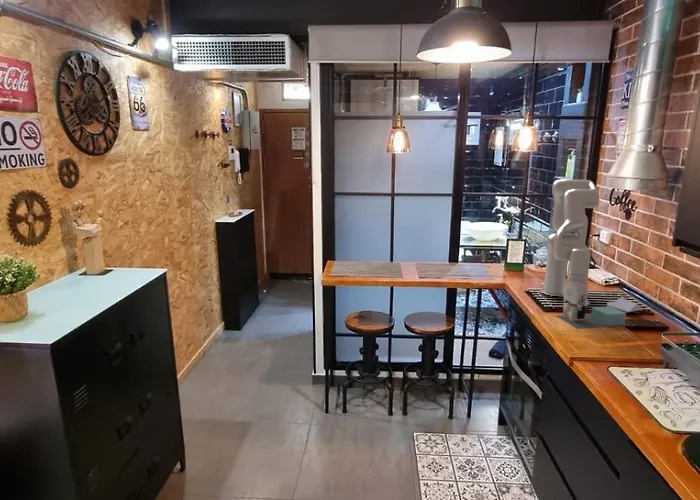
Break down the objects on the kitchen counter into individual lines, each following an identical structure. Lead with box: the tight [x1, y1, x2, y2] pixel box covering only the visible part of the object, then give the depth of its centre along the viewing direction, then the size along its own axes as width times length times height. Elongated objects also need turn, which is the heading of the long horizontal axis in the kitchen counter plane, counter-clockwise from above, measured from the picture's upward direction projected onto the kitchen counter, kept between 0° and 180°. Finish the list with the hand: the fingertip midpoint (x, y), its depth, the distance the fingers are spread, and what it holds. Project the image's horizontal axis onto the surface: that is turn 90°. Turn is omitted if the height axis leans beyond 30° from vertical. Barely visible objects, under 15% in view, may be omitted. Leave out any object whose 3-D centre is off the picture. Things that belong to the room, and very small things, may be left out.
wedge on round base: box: [606, 297, 644, 314], centre depth 208 cm, size 9×7×13 cm
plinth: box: [590, 306, 627, 326], centre depth 195 cm, size 9×9×5 cm
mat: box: [556, 313, 630, 330], centre depth 197 cm, size 15×24×1 cm, turn 99°
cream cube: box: [562, 302, 584, 321], centre depth 199 cm, size 6×6×6 cm
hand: (573, 314), depth 199 cm, fingers open, 9 cm apart
